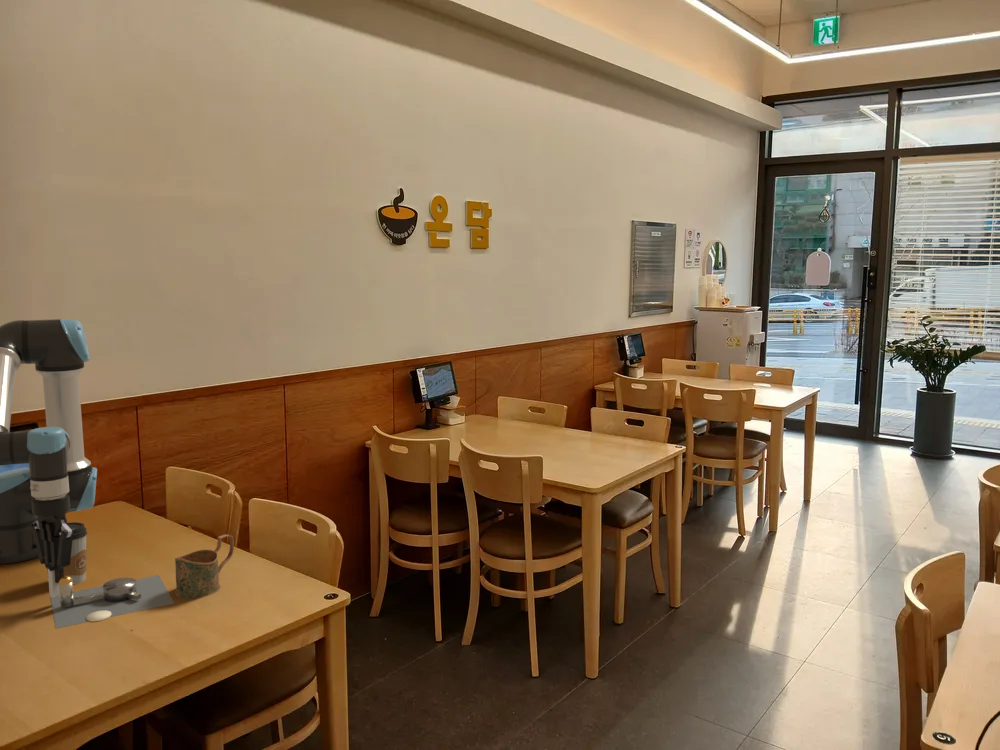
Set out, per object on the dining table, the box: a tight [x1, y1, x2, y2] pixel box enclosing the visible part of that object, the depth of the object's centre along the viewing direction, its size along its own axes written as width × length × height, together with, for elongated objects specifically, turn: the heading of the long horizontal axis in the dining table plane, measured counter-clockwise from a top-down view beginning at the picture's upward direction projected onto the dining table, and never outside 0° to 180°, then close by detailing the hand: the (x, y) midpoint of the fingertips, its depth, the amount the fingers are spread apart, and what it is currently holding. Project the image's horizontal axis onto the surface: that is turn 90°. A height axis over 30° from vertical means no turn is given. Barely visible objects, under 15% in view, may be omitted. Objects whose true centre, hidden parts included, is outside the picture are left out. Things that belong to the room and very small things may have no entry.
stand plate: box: [49, 574, 175, 629], centre depth 182 cm, size 21×24×2 cm
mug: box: [174, 534, 235, 599], centre depth 191 cm, size 12×18×12 cm, turn 155°
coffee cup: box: [64, 522, 88, 586], centre depth 193 cm, size 8×8×15 cm
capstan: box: [59, 576, 141, 607], centre depth 181 cm, size 16×12×7 cm
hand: (57, 594), depth 179 cm, fingers closed
